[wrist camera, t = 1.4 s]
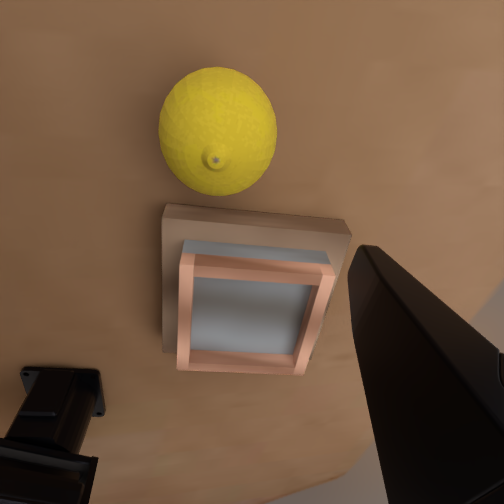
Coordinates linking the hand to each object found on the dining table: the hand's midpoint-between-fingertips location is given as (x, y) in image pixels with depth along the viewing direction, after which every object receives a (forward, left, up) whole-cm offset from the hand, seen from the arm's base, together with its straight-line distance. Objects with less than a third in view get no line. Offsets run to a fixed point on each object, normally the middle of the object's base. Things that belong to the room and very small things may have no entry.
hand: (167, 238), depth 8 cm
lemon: (0, -1, -15) cm, 15 cm away
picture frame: (-12, -4, -14) cm, 19 cm away
